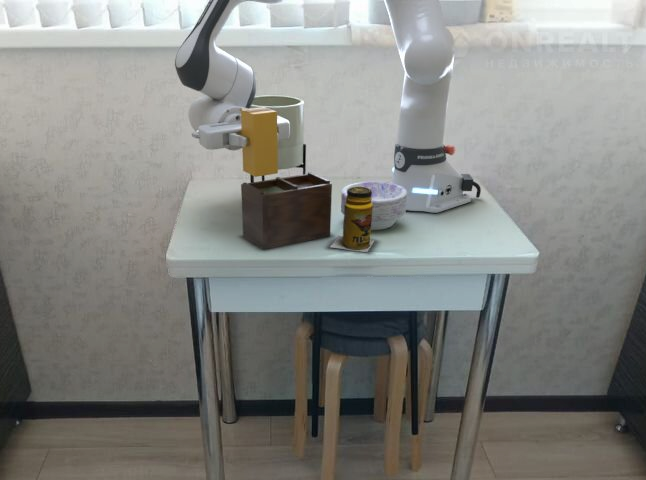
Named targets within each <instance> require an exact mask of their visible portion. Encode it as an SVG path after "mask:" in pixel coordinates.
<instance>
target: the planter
mask: <svg viewBox="0 0 646 480" xmlns="http://www.w3.org/2000/svg"><path fill="white" fill-rule="evenodd" d="M260 107H265V108H270V109H273V110H274V111H277V115H278V116H280V117H282V118H284V119H286V120H288V121H289V123H290V137H289V139H287V140H279V142H277V143H278V171H279V170H280V171H281V170H288V169H293V168H295V169H296V168H298V169H302V175H303V174H307V172H306V171H307V170H306V169H307V144H306V143H305V142H304V141H305V101H304V100H303V99H302V98H299V97H297V96H296V97H295V96H290V95H281V94H280V95H279V94H277V95H276V94H274V95H273V94H268V95H267V94H265V95H255V97H254V100H253V102H252V105H251V106H250V108H260ZM265 176H266V175H264V176H261V181H265V178H266V177H265ZM249 177H250V179H249V180H250V183H252V182H255V176H253V175H251V174H249Z"/></svg>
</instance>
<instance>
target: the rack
mask: <svg viewBox="0 0 646 480" xmlns="http://www.w3.org/2000/svg"><path fill="white" fill-rule="evenodd" d="M240 192H241V193H240V194H241V218H242V219H241V220H242V237H243V238H244V239H246V240H247V241H248V242H251V243H252V244H254V245H255V246H257V247H258V248H260V249H261V250H269V249H274V248H279V247H283V246H289V245H292V244H299V243H303V242H309V241H312V240H316V239H323V238H327V237H331V223H332V221H331V220H332V196H333V193H332V192H333V184H332V183H331V180H329V179H328V178H325V177H323V176H320V175H318V174H316V173H313V172H311V171H310V172H307V173H306V174H303V173H302V174H297V175H291V176H285V177H279V176H277V177H275V178H272V179H266V180H265V181H262V180H260V181H254V182H252V183H251V182H242V183H241V184H240Z"/></svg>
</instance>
